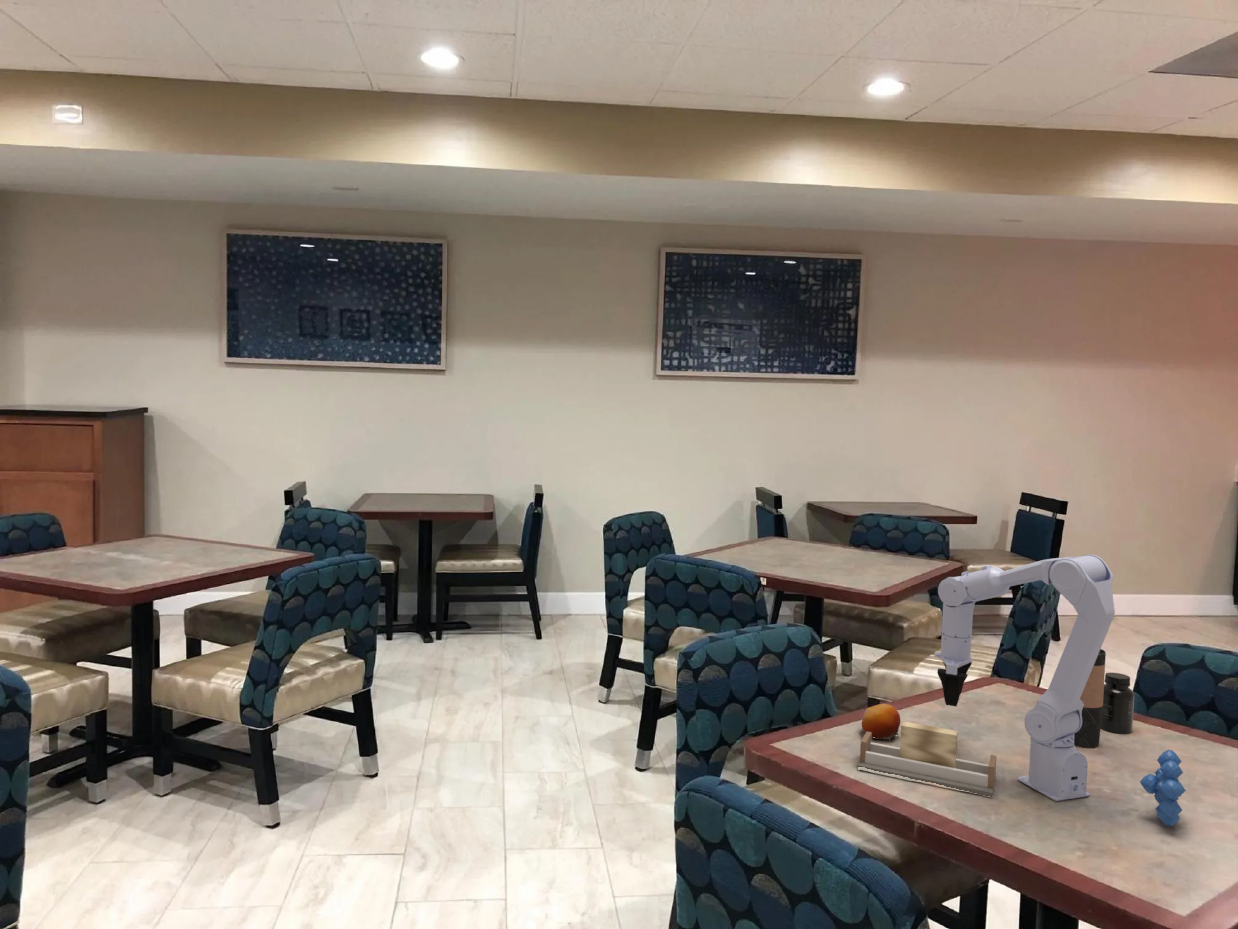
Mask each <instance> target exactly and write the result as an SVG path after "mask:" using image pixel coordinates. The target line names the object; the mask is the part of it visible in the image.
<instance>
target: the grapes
mask: <svg viewBox="0 0 1238 929" xmlns="http://www.w3.org/2000/svg"><path fill="white" fill-rule="evenodd" d="M1156 761H1157V763H1158V764H1159V767H1158V768H1157V769H1156V770H1155V771H1154V774H1155V775H1154V774H1151V773H1149V774H1147V775H1144V776H1143V777H1142V779H1141V780H1140V781H1139V783H1140V784H1141V786H1142V788H1143V790H1145V791H1146V793H1148V794H1152V795H1153V794H1154V795H1153V796H1154V799H1155V801H1156V802H1157V803H1158V806H1157V807H1155V810H1156V812H1157V814H1156V815H1157V816H1158V818H1159V819H1160V821H1161V822H1162V823H1163V824H1164V826H1166V827H1169V828H1170V827H1173V826H1175V825H1176V824H1177V823H1178V822H1179V821H1180V820H1181V818H1180V816H1179V815H1180V814H1181V813H1182V811H1183V809H1182V807H1181V805H1180V804H1179V802H1178V800H1179V797H1181V796H1182V795H1183V794H1184V793H1185V792H1186V789H1185V788H1184V785H1183V784H1182V783H1181V782H1180V780H1179V779H1178V778H1180V776H1181V775H1182V774H1183V773H1184V772H1183V770H1182V769H1181V767H1180V766H1179V765H1180V764H1181V763H1182V760H1181V759H1180V757H1179V756H1178V754H1177V753H1176V752H1175V751H1174V750H1172V749H1167V750H1165V751H1163V752H1162V753H1161V754H1160V755H1159V756H1158V758H1157V759H1156Z"/></svg>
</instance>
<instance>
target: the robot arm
mask: <svg viewBox="0 0 1238 929" xmlns="http://www.w3.org/2000/svg"><path fill="white" fill-rule="evenodd" d="M1114 577H1115V576H1114V574H1113V572H1112V571H1111V569H1110V567H1109V566H1108V564H1107V563H1106V562H1105V560H1104V559H1103V558H1101V557H1100V556H1098V555H1096V554H1090V553H1088V554H1085V555H1080V556H1076V555H1075V556H1065V557H1056V558H1054V557H1053V558H1047V559H1042V560H1039V561H1034V562H1031V563H1028V564H1024V565H1020V566H1017V567H1014V568H1010V569H1007V570H1003V569H1002V568H1000V567H997V566H992V565H990V564H988V565H983V566H981V569H980V570H976V571H973V572H969V571H963V572H961V575H960V576H959V575H958V576H948V577H946V578H944V579H943V580H941V581H940V583H939V585H938V587H937V595H938V597H939V599H940V600H941V602H942V603H943V604H942V622H941V624H942V625H941V639H940V642H941V643H940V651H935V652H934V655H933V656H934V657H935V658H938V659H940V660H941V661H942V663H943V666H944V668H945V669H944V668H937V676H938V678H939V681H940V684H941V685H942V686H941V687H942V691H943V692H942V693H943V699H944V702H945V706H951V707H957V706H958V703H959V700H960V696H961V693H962V692H963V689H964V688H963V687H964V683H965V681H966V679H967V678H968V676H969V674H968V671H969V669H970V668H971V666H972V664H973V661H972V656H971V655H972V654H971V652H972V639H973V638H972V637H973V636H972V633H973V618H974V617H973V616H974V615H973V614H974V609H975V605H976V602H980V601H985V600H988V599H993V598H997V597H1002V596H1005V595H1006V594H1007V593H1008V591H1009V589H1010V588H1011V587H1013V586H1014V587H1015V586H1017V585H1022V584H1027V583H1032V582H1033V583H1034V582H1036V581H1041V582H1043V583H1045V585H1048V586H1049V585H1053V587H1054V589H1056V591H1057V592H1058V593H1059V594H1060V595H1062V596H1063V597H1064V598H1065V599H1066V600H1067V601H1068V603H1069V604H1071V605H1072V607H1073V608H1074V609H1075V611H1076V613H1077V616H1076V619H1075V622H1074V624H1073V627H1072V629H1071V631H1070V634H1069V636H1068V639H1067V642H1066V643H1065V646H1064V648H1063V652H1062V653H1061V656H1060V659H1059V661H1058V663H1057V665H1056V669H1055V671H1054V673H1053V676H1052V679H1051V681H1050V683H1049V686H1048V689H1046V691H1045V692H1044V693H1043V694H1042V695H1040V697H1039V698H1038V699H1037V700H1036V702H1035V705H1034V707H1033V708H1031V709H1030V710H1028V712H1026V714H1025V717H1024V728H1025V730H1026V732H1027V733H1028V735H1029V736H1030V746H1029V747H1030V748H1029V749H1030V750H1029V762H1028V775H1022V776H1017V781H1019V782H1020V783H1022V784H1024V785H1026V786H1028V787H1030V788H1031V789H1034V790H1035V791H1037V792H1039V793H1041V794H1042V795H1044V796H1046V797H1048V798H1049V799H1051V800H1053V801H1055V802H1056V801H1057V802H1058V801H1059V802H1060V801H1065V800H1070V799H1071V800H1072V799H1077V798H1078V799H1079V798H1083V797H1089V796H1090V792H1088V791H1087V781H1088V780H1087V779H1088V767H1089V766H1088V759H1087V757H1086V756H1085V755H1084V754H1083V753H1082V752H1081V751H1080V750H1078V749H1077V746H1075V745H1074V734H1075V733H1076V732H1078V731H1079V730H1080V728H1081V726H1082V709H1083V706H1084V704H1083V702H1082V701H1081V699H1080V697H1081V695H1082V692H1083V690H1084V687H1085V685H1086V683H1087V680H1088V678H1089V675H1090V673H1091V671H1092V668H1093V666H1094V663H1095V661H1096V659H1097V656H1098V654H1099V651H1100V649H1102V646H1103V644H1104V641H1105V640H1106V636H1107V634H1108V632H1109V630H1110V627H1111V624H1112V622H1113V619H1114V617H1115V613H1116V612H1115V609H1116V608H1115V603H1114V602H1115V601H1114V596H1113V588H1112V584H1113V581H1114Z"/></svg>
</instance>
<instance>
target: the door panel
mask: <svg viewBox="0 0 1238 929" xmlns="http://www.w3.org/2000/svg"><path fill="white" fill-rule="evenodd" d="M958 735H959V732H958V730H954V729H949V728H943V727H936V726H933V725H932V726H931V725H926V724H921V723H913V722H909V721H908V722H907V721H902V723H900V735H899V738H900V739H899V748H900V756H899V757H900V758H905V759H911V760H916V761H921V762H926V763H931V764H936V765H941V766H946V767H951V768H956V758H957V753H958V752H957V749H958Z"/></svg>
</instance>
